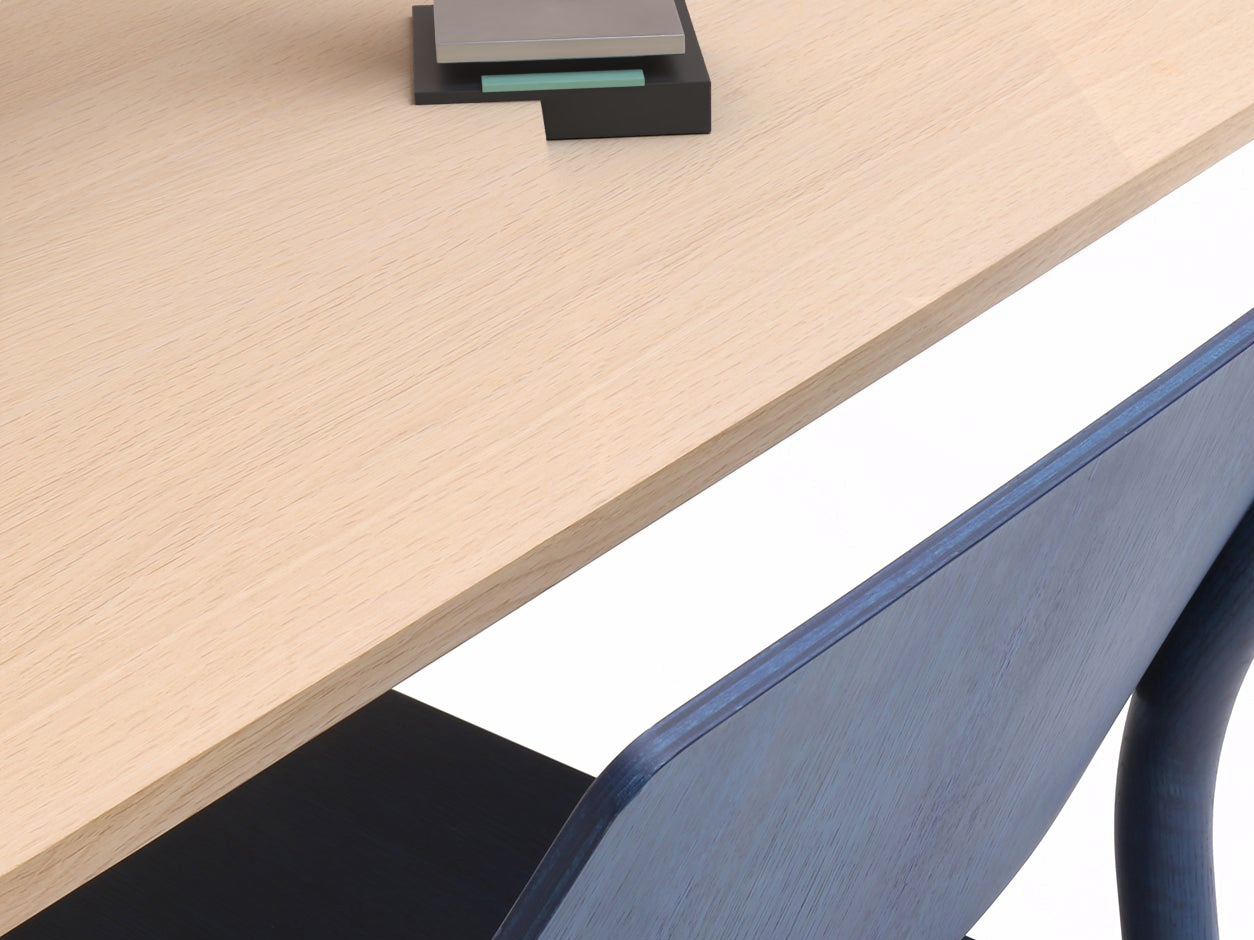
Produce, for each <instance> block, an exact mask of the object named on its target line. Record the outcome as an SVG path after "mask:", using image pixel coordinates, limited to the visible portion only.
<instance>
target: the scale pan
mask: <svg viewBox="0 0 1254 940" xmlns="http://www.w3.org/2000/svg"><path fill="white" fill-rule="evenodd" d="M432 1H433V4H432V5H434V24H435V44H436V58H437V63H438V64H456V63H482V62H507V61H533V60H559V59H585V58H611V57H637V56H663V55H683V54H684V53H685V35H684V31H683V28H682V25H681V22H680V18H679V15H678V12H677V9H676V5H675V2H674V0H432Z"/></svg>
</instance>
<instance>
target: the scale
mask: <svg viewBox="0 0 1254 940" xmlns="http://www.w3.org/2000/svg"><path fill="white" fill-rule="evenodd" d="M674 2H675V5H676V9H677V12H678V15H679V18H680V22H681V25H682V28H683V31H684V35H685V53H684V54H683V55H663V56H637V57H611V58H585V59H559V60H533V61H507V62H482V63H456V64H438V63H437V58H436V44H435V24H434V4H421V5H420V4H419V5H416V4H415V5H412V6H411V16H412V18H411V19H412V55H413V56H412V57H413V58H412V59H413V92H414V104H415V106H436V105H457V104H482V103H507V102H508V103H509V102H510V103H511V102H534V101H540V107H541V114H542V121H543V127H544V134H545V140H563V139H564V140H566V139H586V138H587V139H588V138H590V139H591V138H609V137H611V138H613V137H635V136H637V137H638V136H656V135H657V136H659V135H683V134H707V133H708V134H709V133H712V81H711V78H710V77H711V76H710V75H709V71H708V67H707V64H706V61H705V59H704V56H703V53H702V50H701V46H700V43H699V40H698V36H697V33H696V30H695V28H694V24H693V21H692V19H691V15H690V12H689V9H688V6H687V2H686V0H674Z"/></svg>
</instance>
